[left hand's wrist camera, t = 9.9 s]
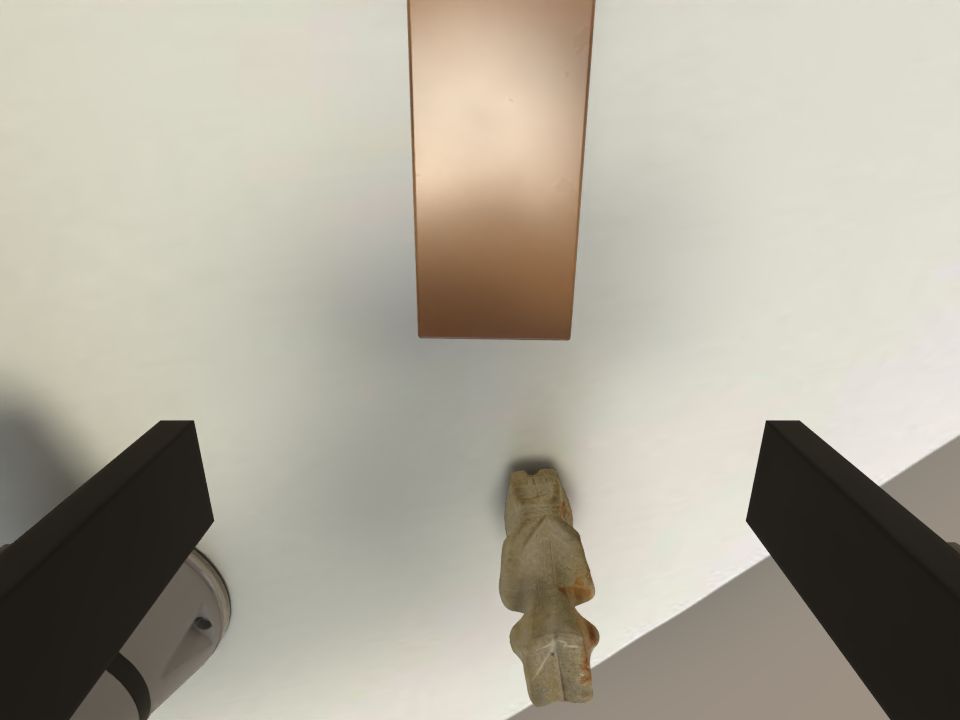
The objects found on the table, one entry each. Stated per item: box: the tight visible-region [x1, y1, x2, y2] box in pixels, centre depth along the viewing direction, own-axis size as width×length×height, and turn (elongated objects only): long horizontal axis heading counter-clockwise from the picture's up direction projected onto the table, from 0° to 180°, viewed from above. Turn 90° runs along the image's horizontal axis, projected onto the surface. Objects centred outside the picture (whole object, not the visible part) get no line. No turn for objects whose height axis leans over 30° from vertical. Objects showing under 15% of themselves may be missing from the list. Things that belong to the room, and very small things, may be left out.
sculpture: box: [499, 468, 599, 707], centre depth 35 cm, size 6×7×15 cm
